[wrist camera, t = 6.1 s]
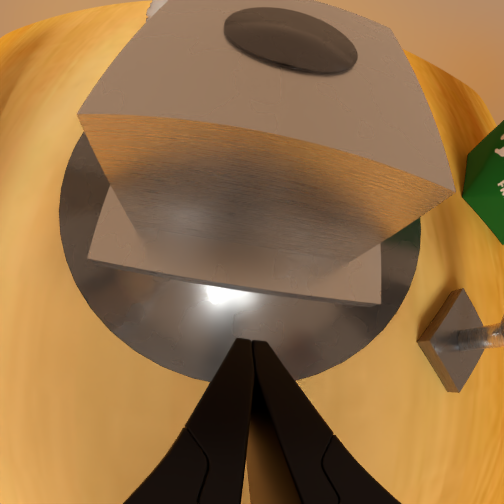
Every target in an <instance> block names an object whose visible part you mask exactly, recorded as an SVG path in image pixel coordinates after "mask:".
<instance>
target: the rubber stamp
mask: <svg viewBox="0 0 504 504" xmlns="http://www.w3.org/2000/svg"><path fill="white" fill-rule="evenodd" d="M417 343H418V345H419V346H420V348H421V349H422V351H423V352H424V354H425V356H426V357H427V359H428V360H429V362H430V363H431V365H432V367H433V368H434V370H435V372H436V373H437V375H438V377H439V378H440V380H441V382H442V383H443V385H444V387H445V388H446V390H447V392H458V393H459V392H460V391H461V389H462V388H463V386H464V384H465V383H466V381H467V380H468V378H469V376H470V375H471V373H472V371H473V369H474V368H475V366H476V364H477V362H478V360H479V359H480V357H481V355H482V353H483V351H484V349H486V348H494V347H502V346H504V316H503V318H502V321H501V323H498V324H493V325H488V326H483V324H482V322H481V320H480V318H479V316H478V314H477V312H476V310H475V308H474V307H473V305H472V303H471V301H470V299H469V297H468V296H467V294H466V292H465V290H464V288H462V289H459V290H455V291H452V292H451V294H450V295H449V297H448V298H447V300H446V301H445V303H444V305H443V306H442V308H441V309H440V311H439V312H438V314H437V315H436V316H435V318H434V319H433V321H432V322H431V324H430V325H429V326H428V328H427V329H426V331H425V332H424V333H423V335H422V336H421V337H420V339H419V340H418V341H417Z"/></svg>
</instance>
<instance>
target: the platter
mask: <svg viewBox="0 0 504 504" xmlns="http://www.w3.org/2000/svg"><path fill="white" fill-rule="evenodd" d="M109 187H110V183H109V181H108V179H107V177H106V175H105V173H104V171H103V169H102V167H101V165H100V163H99V161H98V159H97V157H96V155H95V153H94V151H93V149H92V147H91V145H90V143H89V140H88V138H87V136H86V134H85V132H83V134H82V136H81V137H80V139H79V141H78V142H77V144H76V146H75V148H74V150H73V152H72V155H71V157H70V160H69V162H68V165H67V167H66V171H65V175H64V179H63V183H62V187H61V195H60V206H59V220H60V235H61V240H62V244H63V249H64V253H65V257H66V261H67V263H68V266H69V268H70V271H71V273H72V276H73V278H74V280H75V283H76V285H77V287H78V288H79V290H80V292H81V293H82V295H83V296H84V298H85V300H86V301H87V303H88V304H89V306H90V308H91V309H92V310H93V311H94V312H95V314H96V315H97V316H98V317H99V318H100V319H101V321H102V322H103V323H104V324H105V325H106V326H107V327H108V328H109V330H110V331H111V332H113V333H114V334H115V335H116V336H117V337H119V338H120V339H121V340H122V341H123V342H125V343H126V344H127V345H128V346H130V347H131V348H132V349H133V350H135V351H136V352H138V353H140V354H141V355H143V356H145V357H146V358H148V359H150V360H152V361H153V362H155V363H157V364H159V365H160V366H162V367H165V368H167V369H170V370H172V371H175V372H178V373H180V374H183V375H186V376H188V377H191V378H194V379H199V380H204V381H208V382H211V380H212V379H213V377H214V375H215V374H216V372H217V370H218V368H219V367H220V365H221V363H222V361H223V360H224V358H225V356H226V354H227V353H228V351H229V349H230V347H231V346H232V344H233V342H234V340H235V339H236V338H246V339H250V340H251V341H252V340H263V341H267V342H268V343H269V345H270V346H271V348H272V349H273V351H274V352H275V353H276V355H277V356H278V358H279V359H280V360H281V362H282V363H283V365H284V366H285V368H286V369H287V370H288V372H289V373H290V374H291V376H292V377H293V379H294V380H295V381H296V380H299V379H303V378H306V377H309V376H313V375H316V374H319V373H321V372H323V371H325V370H327V369H330V368H332V367H334V366H336V365H338V364H340V363H342V362H344V361H345V360H347V359H348V358H350V357H351V356H353V355H354V354H356V353H357V352H358V351H360V350H361V349H363V348H364V347H365V346H366V345H368V344H369V343H370V342H371V341H372V340H373V339H374V338H375V337H376V336H377V335H378V334H379V333H380V332H381V331H382V330H383V329H384V328H385V327H386V325H387V324H388V323H389V321H390V320H391V319H392V317H393V316H394V315H395V313H396V312H397V311H398V309H399V307H400V305H401V303H402V302H403V300H404V298H405V296H406V294H407V292H408V290H409V287H410V285H411V282H412V279H413V276H414V273H415V270H416V266H417V261H418V256H419V251H420V236H421V224H420V217H419V218H418V219H416V220H415V221H413V222H412V223H410V224H409V225H407V226H406V227H404V228H403V229H401V230H400V231H398V232H397V233H395V234H394V235H392V236H391V237H389V238H387V239H386V240H384V241H383V242H381V243H380V244H381V304H379V305H375V306H372V307H363V306H354V305H345V304H336V303H328V302H319V301H311V300H303V299H296V298H288V297H281V296H273V295H266V294H259V293H252V292H246V291H239V290H232V289H226V288H220V287H213V286H207V285H201V284H195V283H189V282H183V281H178V280H172V279H166V278H161V277H155V276H150V275H145V274H139V273H134V272H129V271H124V270H119V269H114V268H109V267H104V266H99V265H95V264H94V263H93V262H91V261H90V260H89V259H87V257H88V253H89V250H90V246H91V242H92V239H93V235H94V232H95V229H96V225H97V222H98V219H99V216H100V213H101V210H102V207H103V204H104V201H105V198H106V195H107V192H108V190H109Z"/></svg>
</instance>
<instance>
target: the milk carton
mask: <svg viewBox="0 0 504 504" xmlns="http://www.w3.org/2000/svg"><path fill="white" fill-rule="evenodd" d="M462 197H463V198H464V200H465V201H466V202H467V203H468V204H469V205H470V206H471V207H472V208H473V209H474V211H475V212H476V213H477V214H478V215H479V216H480V217H481V219H482V220H483V221H484V222H485V223H486V224H487V226H488V227H489V228H490V229H491V231H492V232H493V233H494V234H495V235H496V237H497V238H498V239H499V241H500V242H501V243H502V245H504V120H503V121H502V122H501V123H500V124H499V125H498V126H497V127H496V128H495V129H494V130H493V131H492V132H490V133H489V134H488V135H487V136H486V137H485V138H484V139H483V140H482V141H481V142H480V143H479V144H478V145H477V146H476V147H475V148H474V149H473V150H472V151H471V152H470V153H469V154H468V158H467V167H466V175H465V182H464V189H463V195H462Z"/></svg>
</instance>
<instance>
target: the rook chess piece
mask: <svg viewBox="0 0 504 504" xmlns="http://www.w3.org/2000/svg"><path fill="white" fill-rule="evenodd" d="M167 1H168V0H153V1H152V3H150V7H149V8H148V10H147V13H146V15H147V16H148V18H147V19H146V22H147V21H148V20H149V19H150V18H151V17H152V16H153V15H154V14H155V13H156V12H157V11H158V10H159V9H160V8H161V7H162V6H163V5H164V4H165V3H166V2H167Z"/></svg>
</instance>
